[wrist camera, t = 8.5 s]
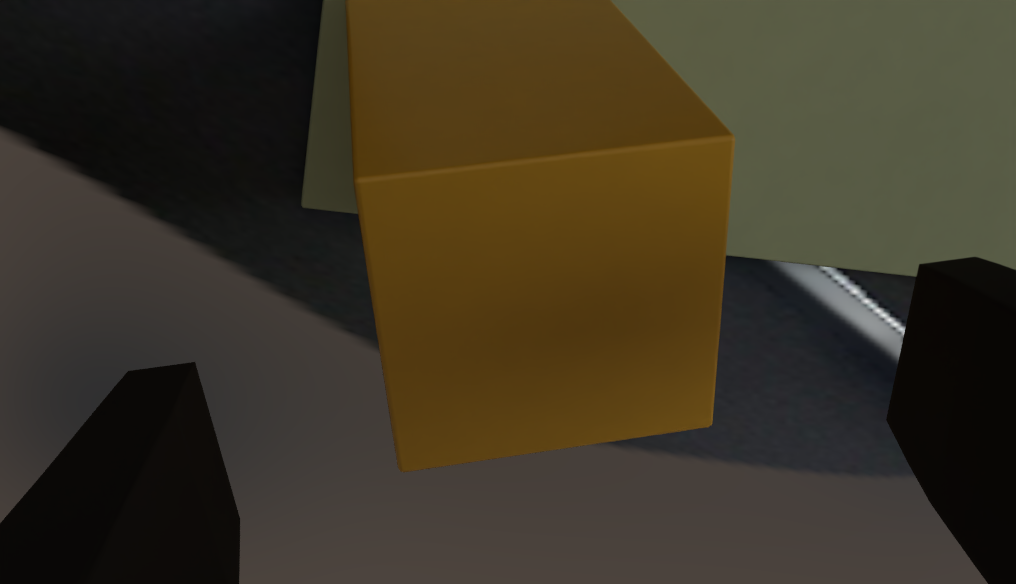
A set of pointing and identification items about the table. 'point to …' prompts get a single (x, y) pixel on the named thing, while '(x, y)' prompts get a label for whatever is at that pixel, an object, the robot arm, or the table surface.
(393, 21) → the block
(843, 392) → the table surface
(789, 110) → the mat
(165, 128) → the table surface
